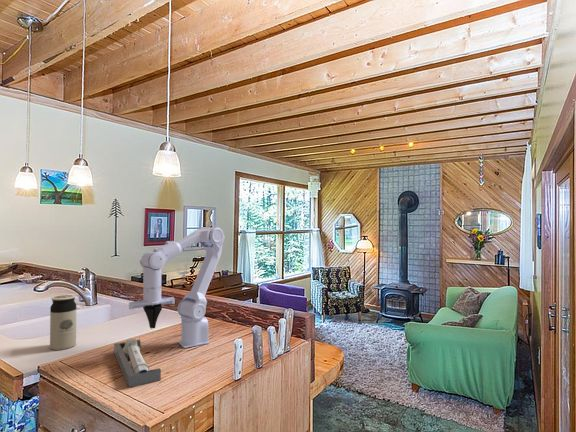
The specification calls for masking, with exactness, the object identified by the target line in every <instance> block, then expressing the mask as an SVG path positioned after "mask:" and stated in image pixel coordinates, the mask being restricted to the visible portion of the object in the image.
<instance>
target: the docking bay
mask: <svg viewBox="0 0 576 432" xmlns="http://www.w3.org/2000/svg"><path fill="white" fill-rule="evenodd" d="M136 340H137V346H139V348H140V349H141V339H136ZM125 342H126V341H123V342H117V343H113V354H114V356H115V359H116V361H117V363H118V366H119V368H120V370H121V373H122V375H123V378H124V379H125V380H124V381H125V382H126V385H127V388H128V389H129V388H134V387H138V386H143V385H147V384H150V383H154V382H158V381H161V380H162V377H161V376H162V373H161V372H162V370H161V367H159V368H154V369H149V371H145V372H140V373H135V374H134V372H133V370H132V366H131V363H130V362H129V360H127V358H126V356H125V354H124V352H123V350H122V349H123V348H124V347H125Z"/></svg>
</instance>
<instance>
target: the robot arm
mask: <svg viewBox="0 0 576 432" xmlns="http://www.w3.org/2000/svg"><path fill="white" fill-rule="evenodd" d="M225 239H226V237H225V233H224V231H223V230H222V228H220V227H204V226H203V227H200V228H199V229H198V228H197V229H195V230H194V231H192V232H191V233H190V234H187V235H186V236H185V237H183V238H181V239H180V240H178V241H174V240H167V241H165V244H163V245H160V246H159V247H154V248H153V250H152V251H146V252H145V253H143V255H142V256H141V258H140V260H139V264H140V265H141V268H142V271H143V272H142V273H143V276H142V277H143V283H142V285H143V286H142V287H143V295H142V296H143V297H142V298H143V299H142V300H136V301H131V302H128V309H129V310H134V309H141V308H142V309H143V311H144V312H145V313H144V314H145V315H146V318H147V320H148V325H149V329H155V328H156V327H157V325H156V324H157V321H158V318H159V315H160V313H161V312H162V309H163V307H162V306H163V305H172V304H173V305H175V304H176V303H175V302H176V300H175V299H176V298H175V297H173V296H172V297H162V269H163V267H164V266H165V264H166V263H168V262H169V261H172V260H173V259H175V258H176V257H178V256H180V255H181V252H182V250H184V249H187V248H189V247H190V246H192V245H195V244H197V243H199V244H200V245H201V246H202V248H203V249H204V250H205V253H206V254H205V256H204V259H203V261H202V264H201V266H200V268H199V271H198V273H197V276H196V277H195V280H194V283H193V285H192V287H191V289H190V291H189V292H188V293H186V294H184V297H183V298H182V300H181V301H180V302H179V303H178V305H177V313H178V314H179V316H180V319H181V323H180V324H181V325H180V326H181V327H180V328H181V332H180V335H181V336H180V337H181V339H180V340H177V343H178V344H179V345H180V346H181V347H182V348H183V349H186V348H190V347H191V348H192V347H197V346H202V345H207V344H210V341H209V330H210V329H209V320H208V319H207V317H206V316H205V314H206V311H207V310H206V308H207V304H208V300H207V298H206V294H207V291H208V288H209V286H210V283H211V281H212V279H213V276H214V273H215V271H216V270H217V269H216V268H217V267H218V263H219V262H220V258H221V256H222V253H223V244H224V242H225Z"/></svg>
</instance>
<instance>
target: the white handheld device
mask: <svg viewBox="0 0 576 432" xmlns="http://www.w3.org/2000/svg"><path fill="white" fill-rule="evenodd" d="M125 340H126V341H124V342H125V347H124V348H123V349H122V350H123V352H124V354H125V356H126V358H127V360H128V361H130V362H129V363H130V366H131V368H132V370H133V372H134V374H135V373H140V372H145V371H149V370H150V369H149V368H150V366H149V365H148V364H147V363H146V362H145V360H144V359H145V358H144V357H143V355H142V354H141V347H140V348H139V346H137V340H138V339H136V338H134V337H131V338H127V339H125Z"/></svg>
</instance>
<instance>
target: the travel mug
mask: <svg viewBox="0 0 576 432" xmlns="http://www.w3.org/2000/svg"><path fill="white" fill-rule="evenodd" d="M76 297H77V296H76V295H74V294H62V295H60V294H59V295H56V296H52V297H51V298H50V299H51V301H52V303H51V305H50V308H49V309H50V315H49V316H50V318H49V323H50V324H49V328H50V329H49V348H50V350H52V351H53V350H54V351H62V350H67V349H70V348H71V349H72V348H73V347H75V346H76V345H77V303H76V301H75V299H76Z"/></svg>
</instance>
